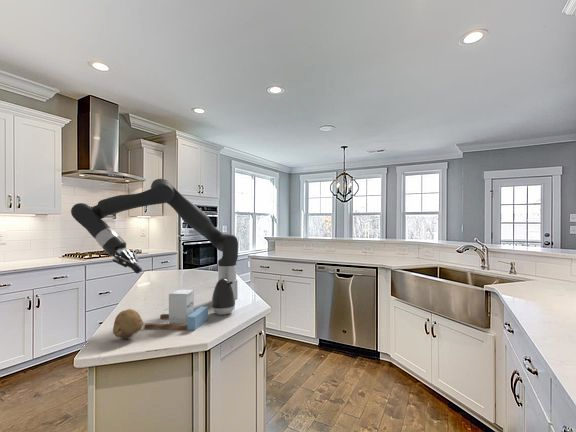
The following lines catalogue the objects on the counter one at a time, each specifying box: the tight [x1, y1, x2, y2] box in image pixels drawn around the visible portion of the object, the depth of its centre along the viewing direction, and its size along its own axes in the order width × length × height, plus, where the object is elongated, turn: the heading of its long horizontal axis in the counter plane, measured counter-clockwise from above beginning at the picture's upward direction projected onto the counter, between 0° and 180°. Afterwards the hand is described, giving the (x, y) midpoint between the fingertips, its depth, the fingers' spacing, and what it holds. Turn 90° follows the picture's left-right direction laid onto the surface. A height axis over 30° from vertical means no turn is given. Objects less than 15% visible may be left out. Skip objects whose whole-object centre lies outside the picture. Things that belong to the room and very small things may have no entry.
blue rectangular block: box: [186, 306, 209, 331], centre depth 120 cm, size 3×13×5 cm, turn 174°
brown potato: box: [112, 308, 144, 340], centre depth 106 cm, size 9×9×10 cm
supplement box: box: [168, 289, 195, 324], centre depth 121 cm, size 7×7×13 cm
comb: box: [143, 313, 188, 331], centre depth 121 cm, size 17×13×2 cm
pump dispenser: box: [210, 278, 236, 316], centre depth 133 cm, size 10×10×15 cm
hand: (139, 271), depth 123 cm, fingers closed
